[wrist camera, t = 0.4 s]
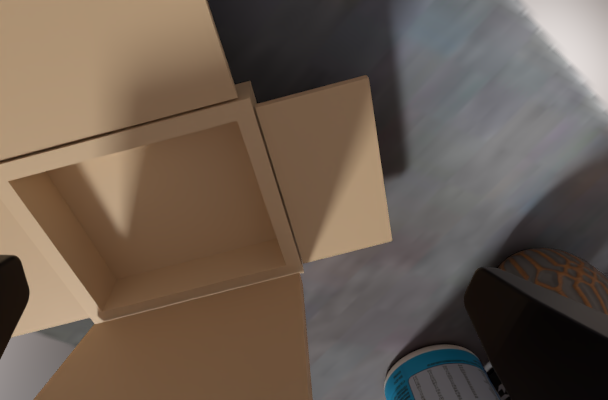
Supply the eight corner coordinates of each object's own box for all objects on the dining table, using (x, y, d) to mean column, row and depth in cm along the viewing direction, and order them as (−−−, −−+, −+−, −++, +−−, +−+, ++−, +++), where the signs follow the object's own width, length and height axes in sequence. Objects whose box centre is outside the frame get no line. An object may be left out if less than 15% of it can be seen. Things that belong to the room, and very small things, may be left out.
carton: (-191, 42, 16) (-273, 56, 14) (327, -103, 16) (342, -116, 13) (34, 307, 25) (9, 346, 22) (379, 219, 24) (393, 249, 22)
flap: (94, 324, 22) (-60, 515, 12) (299, 272, 21) (310, 425, 12) (99, 335, 22) (-49, 531, 12) (302, 284, 21) (316, 443, 12)
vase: (560, 214, 25) (687, 317, 18) (577, 280, 29) (690, 390, 21) (461, 261, 27) (541, 377, 19) (488, 320, 30) (565, 437, 23)
